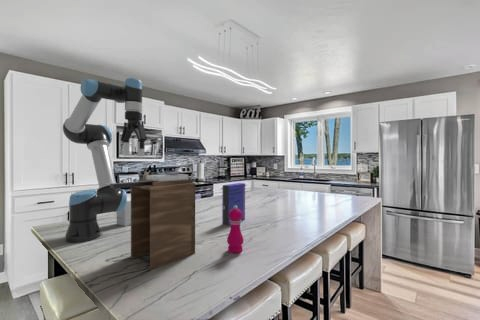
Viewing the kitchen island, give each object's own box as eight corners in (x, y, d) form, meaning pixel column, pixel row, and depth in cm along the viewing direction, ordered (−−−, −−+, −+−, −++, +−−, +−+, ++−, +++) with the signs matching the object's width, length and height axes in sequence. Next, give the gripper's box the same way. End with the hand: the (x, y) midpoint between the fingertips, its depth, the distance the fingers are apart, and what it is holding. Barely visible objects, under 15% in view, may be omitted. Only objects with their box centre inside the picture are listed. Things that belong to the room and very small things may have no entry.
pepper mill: (237, 255, 104) (238, 207, 103) (223, 251, 108) (224, 205, 107) (246, 249, 110) (246, 204, 110) (233, 246, 114) (233, 203, 113)
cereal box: (239, 218, 165) (239, 182, 164) (244, 219, 162) (245, 183, 161) (222, 224, 150) (222, 185, 150) (228, 225, 148) (228, 185, 147)
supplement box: (138, 223, 151) (138, 198, 151) (125, 226, 144) (125, 201, 143) (129, 221, 156) (129, 197, 156) (116, 224, 149) (116, 199, 148)
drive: (106, 186, 91) (106, 175, 91) (175, 181, 113) (175, 171, 113) (117, 189, 85) (117, 177, 85) (188, 182, 106) (188, 172, 106)
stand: (130, 256, 102) (130, 180, 101) (172, 243, 117) (173, 177, 116) (151, 268, 91) (151, 183, 90) (195, 253, 105) (195, 179, 105)
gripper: (155, 110, 114) (154, 156, 114) (128, 115, 129) (128, 155, 130) (139, 107, 108) (139, 156, 109) (113, 113, 124) (113, 155, 124)
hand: (133, 155), depth 119 cm, fingers open, 13 cm apart
